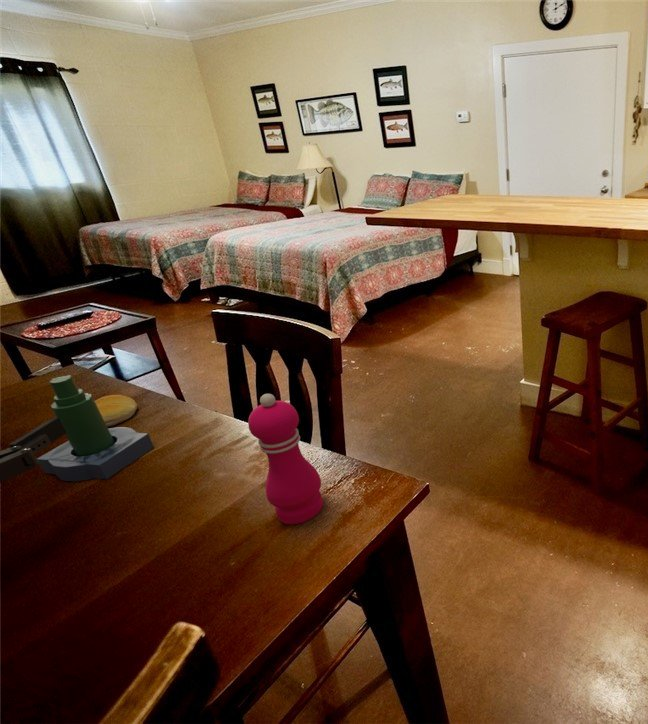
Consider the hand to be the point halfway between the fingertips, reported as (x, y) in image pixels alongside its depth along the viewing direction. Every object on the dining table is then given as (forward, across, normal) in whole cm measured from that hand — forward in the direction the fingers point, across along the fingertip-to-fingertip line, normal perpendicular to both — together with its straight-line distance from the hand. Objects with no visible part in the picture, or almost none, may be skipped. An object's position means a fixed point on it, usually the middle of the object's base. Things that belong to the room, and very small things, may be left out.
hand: (12, 426), depth 68 cm
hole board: (+9, 0, -13) cm, 16 cm away
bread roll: (+23, -9, -14) cm, 28 cm away
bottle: (+9, 0, -13) cm, 16 cm away
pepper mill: (-5, +40, -13) cm, 43 cm away
